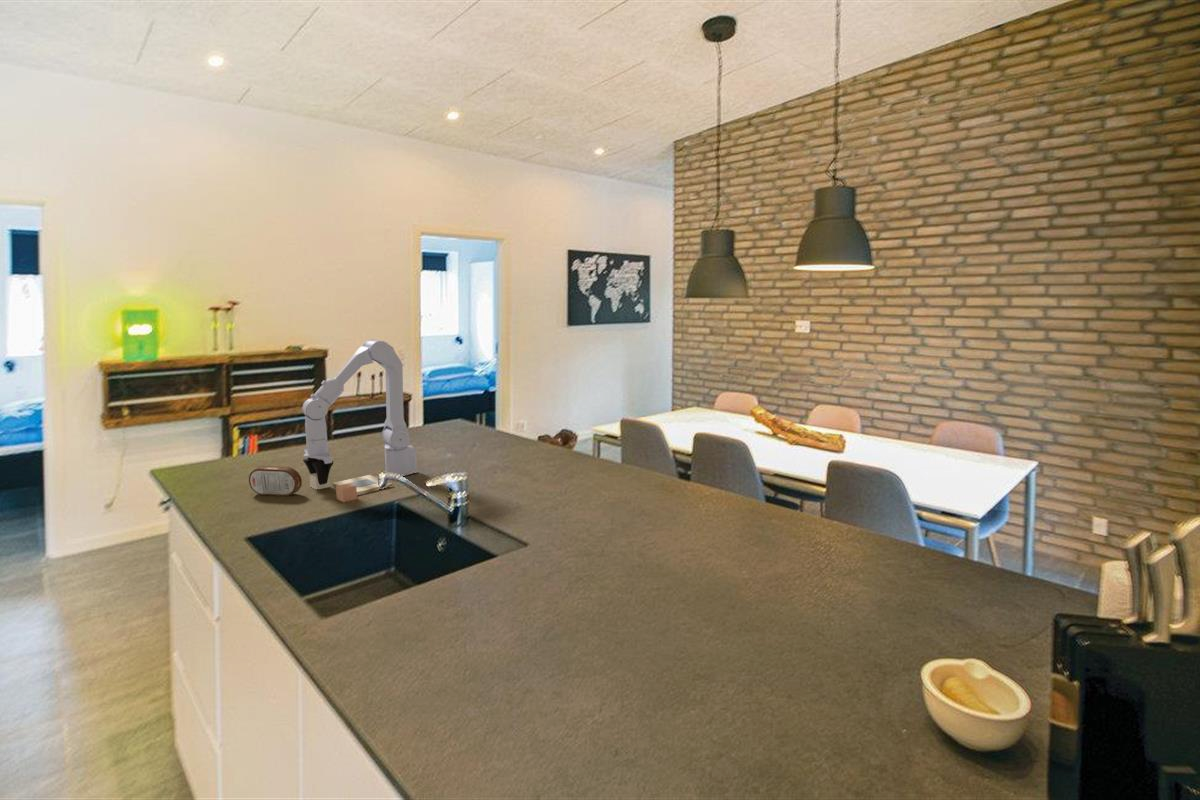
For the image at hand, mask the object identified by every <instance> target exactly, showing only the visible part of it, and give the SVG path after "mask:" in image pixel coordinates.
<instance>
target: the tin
mask: <svg viewBox="0 0 1200 800" xmlns="http://www.w3.org/2000/svg"><path fill="white" fill-rule="evenodd" d="M302 480H303V479H302V477H301V475H300V473H299V472H298V470H296V469H294V468H293V467H290V466H280V465H279V466H277V465H276V466H275V465H261V466H258V467H256V468H255V469H253V470H252V471H250V473H249V475H248V484H249V487H250V488H251V490H252V491H253V492H254V493H256V494H257V495H261V496H273V495H274V497H276V496H277V497H289V496H292V495H294V494H296V493H297V492H299V491H300V489H301V488H302V486H303V485H302V484H303V481H302Z"/></svg>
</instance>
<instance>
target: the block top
mask: <svg viewBox="0 0 1200 800" xmlns="http://www.w3.org/2000/svg"><path fill="white" fill-rule="evenodd" d="M335 492H336V494H335V495H336V500H337V499H338V500H337V501H339V500H340V501H339V502H341V501H342V503H346V501H347V502H350V500H351V501H355V500H358V495H357V489H356V486H355V485H353V484H351V483H348V484H343V485H339V486H336V487H335ZM354 499H355V500H354Z"/></svg>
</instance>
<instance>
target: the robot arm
mask: <svg viewBox="0 0 1200 800" xmlns="http://www.w3.org/2000/svg"><path fill="white" fill-rule="evenodd" d="M374 362H376V363H377V364H379V366H381V367H382V368H383V369H384V370H385V396H386V397H385V401H386V402H385V403H386V404H385V405H386V407H385V408H386V418H385V421H384V426H383V430H382V432H381V439H382V440H383V442H385V444H384V462H385V463H384V464H385V467H384V468H385V472H393V473H399V474H404V473H409V472H412V471H416V470H417V471H418V459H417V457H418V455H417V452H416V448H415V447H414V446H413V445H411V444H410V441H411V437H410V434H409V432H408V428H407V423H406V421H405V419H404V385H403V384H404V380H403V379H404V378H403V377H404V375H403V374H404V373H403V371H404V369H403V362H402V361H401V359H400V357H399V355H398V354H397V353H396V351H395V348H394V347H393V346H392V345H390V343H388V342H386V341H383V340H377V339H374V338H372V339H368V340H366V341H365V342H364V343H363V344H362V345H361V346H360V347H358V349H357V350H356V351H355V353H353V355H352V356H351V358H350V359H349V360H348V361H347V362H346V363H345V364H344V365H343V366H342V368H341V369H340V370H339V372H338V373H337V374H336V375H335V377H332V378H327V379H326V380H322V381H321V383H320V384H321V386H320V387H319V388H318V389H317V390H316V391H315V393H312V394H310V397H311V398H308V399H307V400H305V401H304V402H303V403H302V407H301V412H302V413H303V415H304V422H305V423H304V427H305V429H304V430H305V431H304V432H305V441H306V444H305V445H306V449H303V453H304V454H303V455H302V456H303V458H304V459H303V463H304V464H305V466H306V467H307V470H308V472H309V475H310V474H314V473H317V478H318V482H319V484H320V485H322V484H327V481H328V476H329V477H330V471H331V468H332V466H333V465H334V460H333V456H332V455H331V454H330V451H329V448H328V447H329V446H328V434H327V433H328V432H327V423H326V416H327V414H328V411H329V408H330V407H331V406H332V405H333V404H334V403H335V401H336V400H337V399H338V398H339V397H340V396H341V395H342V393H344V391H345V386H344V385H345V384H346V383H347V382H348V381H349V380H350V379H351V378H352V376H354V375H355V374H356V372H358V371H359V370H360V368H362V367H363V366H366V365H370V364H374ZM409 444H410V445H409Z"/></svg>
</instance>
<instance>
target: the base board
mask: <svg viewBox="0 0 1200 800" xmlns="http://www.w3.org/2000/svg"><path fill="white" fill-rule="evenodd" d="M378 478H379V477H377V476H374V475H372V474H367V475H363V476H358V477H353V478H349V479H344V480H339V481H334V482H332V486H333V487H334V488H336V486H339V485H343V484H348V483H351V484H353V485H355V486H356V489H357V496H361V495H365V494H368V493H373V492H377V491H380V490H379V489H381V488H380V487H379V485H378ZM392 485H393V486H394V484H393V483H392V482H390V483H388V484H387V485H386V486H385V487H383V488H382V490H385V489H384V488H386V487H390V486H392ZM390 488H391V487H390ZM386 489H387V488H386Z"/></svg>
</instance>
